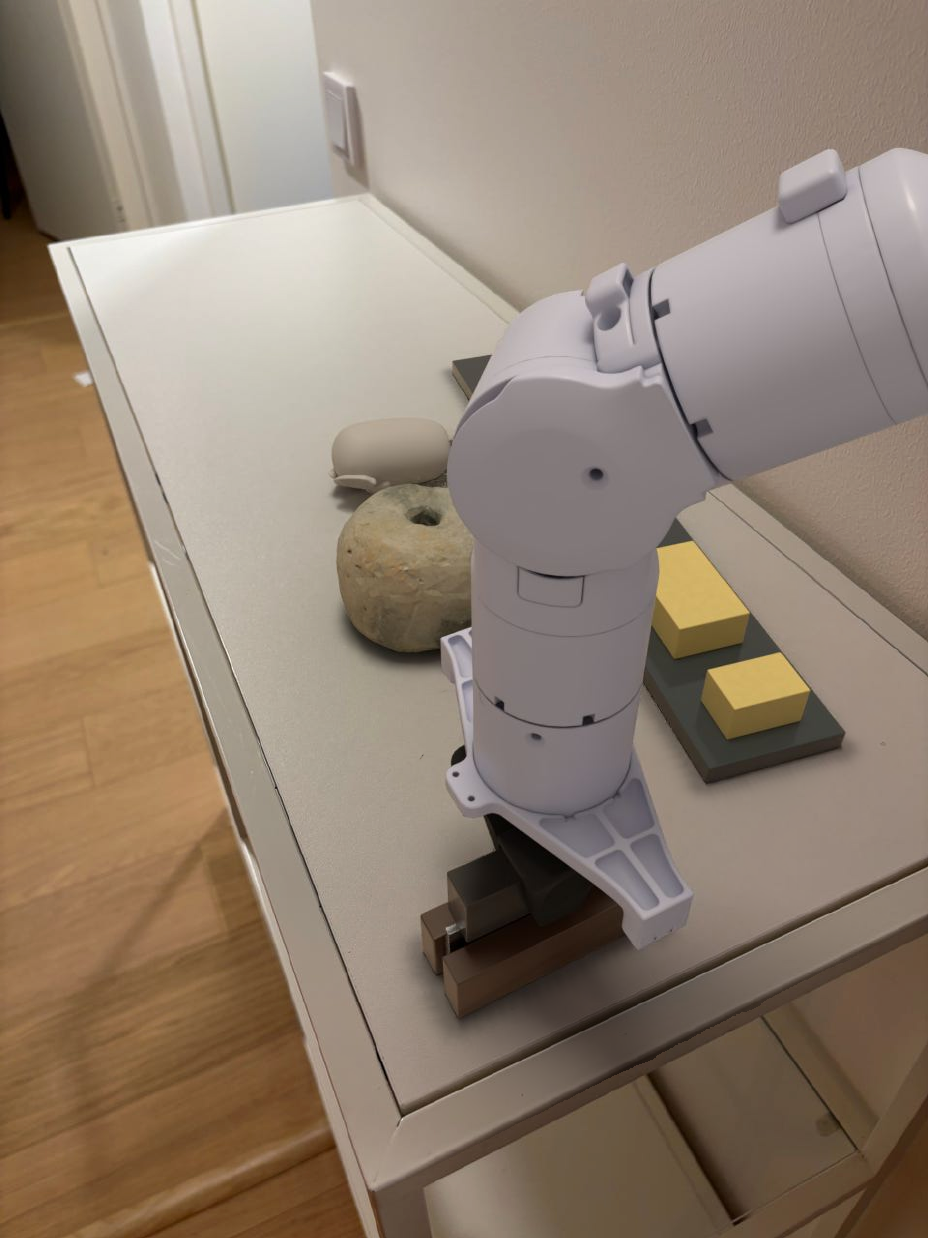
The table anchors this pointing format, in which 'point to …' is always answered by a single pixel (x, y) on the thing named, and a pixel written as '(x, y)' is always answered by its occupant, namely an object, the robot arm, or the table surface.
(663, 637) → the butter stick
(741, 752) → the butter board
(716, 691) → the butter pat
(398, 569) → the stone
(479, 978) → the knife rack
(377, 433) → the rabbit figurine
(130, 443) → the table surface
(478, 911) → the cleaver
